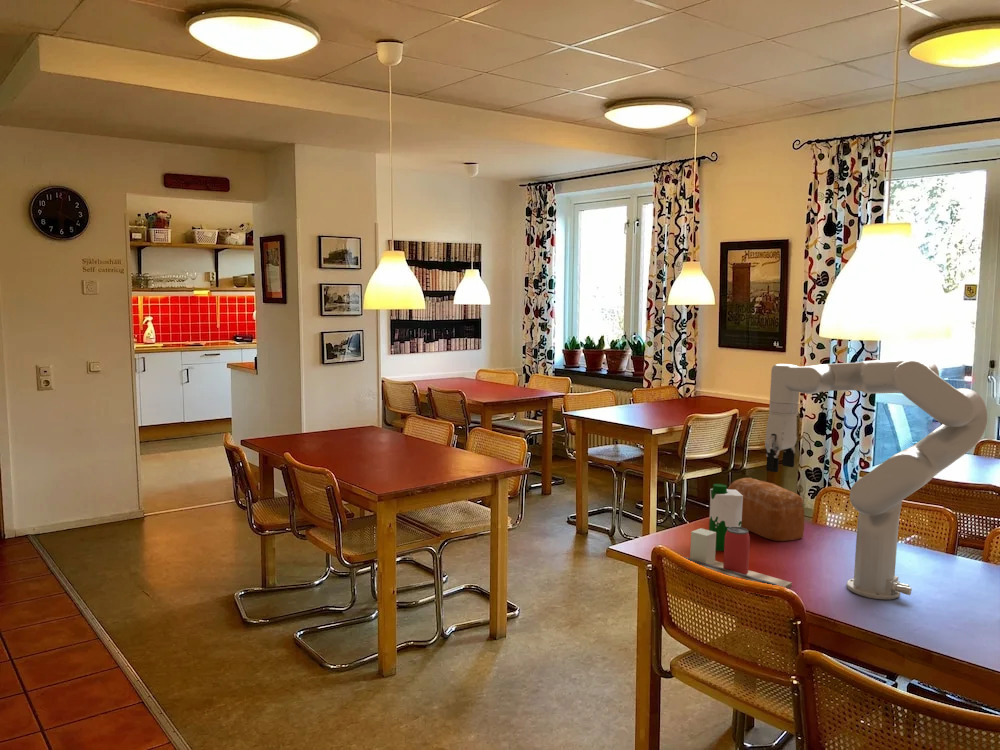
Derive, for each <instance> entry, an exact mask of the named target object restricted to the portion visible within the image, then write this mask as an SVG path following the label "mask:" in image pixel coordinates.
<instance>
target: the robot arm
mask: <svg viewBox="0 0 1000 750" xmlns="http://www.w3.org/2000/svg"><path fill="white" fill-rule="evenodd" d="M831 391H832V392H833V391H835V392H836V391H855V392H856V391H858V392H862V393H864V394H870V395H872V394H873V395H874V394H902V395H903V396H904V397H906V398H907V399H908V400H909V401H910V402H911V403H913V404H914V405H915V406H917V407H918V408H920V410H922V411H924V413H926V414H928V416H930V417H931V418H932V419H934V420H935V421H937V422H938V423H940V424H941V425H939V426H938V427H937V428H935V429H934V430H932V431H931V432H930V433H928V434H927V435H926V436H925V437H923V438H922V439H921V440H919V441H917V442H916V443H914V444H913V445H911V446H909V447H908V448H905V449H903V450H901V451H899V452H896V453H895V454H894V455H891V456H890V457H889V458H888V459H886V460H885V461H883V462H882V463H881V464H879V465H878V466H876V467H874V468H873V469H872V470H871V471H869V472H868V473H867V474H865V475H863V476H862V477H861V478H859V479H858V480H857V481H855V482H854V483H853V484H852V486H851V488H850V491H849V500H850V503H851V505H852V507H853V508H854V509H855V510H856V511H857V512H858V517H857V527H856V541H855V557H854V570H853V578H850V579H848V580H847V581H846V588H847V590H849V591H851V592H852V593H854V594H857V595H858V596H862V597H865V598H870V599H875V600H895V599H897V598H899V597H900V596H901V594H903V595H907V596H911V594H912V592H913V591H912V587H911V586H910V585H909V584H906V583H901V582H900V581H899V576H897V575H896V565H897V564H896V561H897V560H896V559H897V549H898V536H899V525H900V516H901V510H902V505H903V500H905V499H907V497H910V496H911V495H912V494H914V493H915V492H916V491H918V490H919V489H921V488H923V487H924V486H926V485H927V484H928V483H929V482H931V480H932V479H933V478H934V477H935V476H937V475H938V474H939V473H941V472H942V471H943V470H946V468H948V467H949V466H950V465H952V464H953V463H955V462H956V461H957V460H959V459H960V458H962V457H963V456H964V455H966V454H968V452H970V451H971V450H972V449H973V448H974V447H975V446H976V445H977V444H978V442H979V441H980V440H981V438H982V437H983V435H984V433H985V430H986V427H987V425H988V412H987V410H988V409H987V406H986V403H985V400H984V399H983V398H982V396H981V395H980V394H979V393H978V392H977V391H975V390H973V389H970V388H966V387H964V388H963V387H962V388H961V387H960V388H955V387H954V385H953V386H952V385H951V383H949V382H947V381H946V380H945V379H943V378H942V377H941V376H940V372H939V368H938V366H937V365H936V364H935V362H933V361H931V360H930V359H926V358H919V357H918V358H901V359H880V360H879V359H878V360H865V361H864V360H863V361H860V362H859V361H858V362H847V363H846V362H844V363H842V362H840V363H823V364H813V365H806V366H805V365H804V366H798V365H796V364H791V363H776V364H774V365H772V367H771V374H770V390H769V407H768V409H769V410H768V419H767V423H766V432H765V441H764V447H765V452H766V454H765V457H766V465H765V466H766V470H765V471H767V472H773V473H778V472H779V463H780V461H779V460H780V458H779V455H780V452H781V451H782V462H781V463H782V466H783V467H789V468H794V467H795V454H796V452H797V451H796V448H797V441H798V435H797V428H798V427H797V425H798V424H797V422H798V421H797V416H798V415H799V402H800V401H799V400H800V399H799V398H800V393H802V394H806V395H814V394H818V393H822V392H831Z"/></svg>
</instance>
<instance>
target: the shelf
mask: <svg viewBox="0 0 1000 750" xmlns="http://www.w3.org/2000/svg"><path fill="white" fill-rule="evenodd" d="M683 557H684V558H686V559H688V560H690V561H693V562H695V563H697V564H699V565H702V566H704V567H706V568H709V569H712V570H714V571H717V572H721V573H723V574H726V575H729V576H734V577H738V578H743V579H746V580H751V581H757V582H762V583H767V584H772V585H779V586H783V587H786V588H787V589H789V588H790V587H792V584H793V583H792V581H787V580H784V579H781V578H777V577H774V576H771V575H767V574H764V573H761V572H760V573H759V572H757V571H753V570H749V569H748V573H747V574H746V575H745V574H741V573H738V572H735V571H731V570H728V569H724V568H723V563H724V562H721V561H718V560H715V563H714V564H712V565H711V564H707V563H704V562H700V561H697V560H694V559H690V557H686V556H683Z"/></svg>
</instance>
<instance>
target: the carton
mask: <svg viewBox="0 0 1000 750" xmlns="http://www.w3.org/2000/svg"><path fill="white" fill-rule="evenodd" d="M715 550H716V532H714V531H710V530H709V529H705V528H703V527H702V528H701V527H700V528H697V529H695V530H692V531H691V532H690V552H689V558H690V559H694V560H697V561H700V562H704V563H707V564H711V565H712V564H714V563H715V561H716V551H715Z"/></svg>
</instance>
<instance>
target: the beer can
mask: <svg viewBox="0 0 1000 750" xmlns="http://www.w3.org/2000/svg"><path fill="white" fill-rule="evenodd" d="M750 544H751V537H750V534H749V530H747V529H745V528H742V527H729V528H727V532H726V534H725V544H724V551H723V562H722V563H723V568H724V569H728V570H731V571H735V572H738V573H741V574H745V575H746V574H747V573H748V570H749V565H750Z"/></svg>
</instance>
